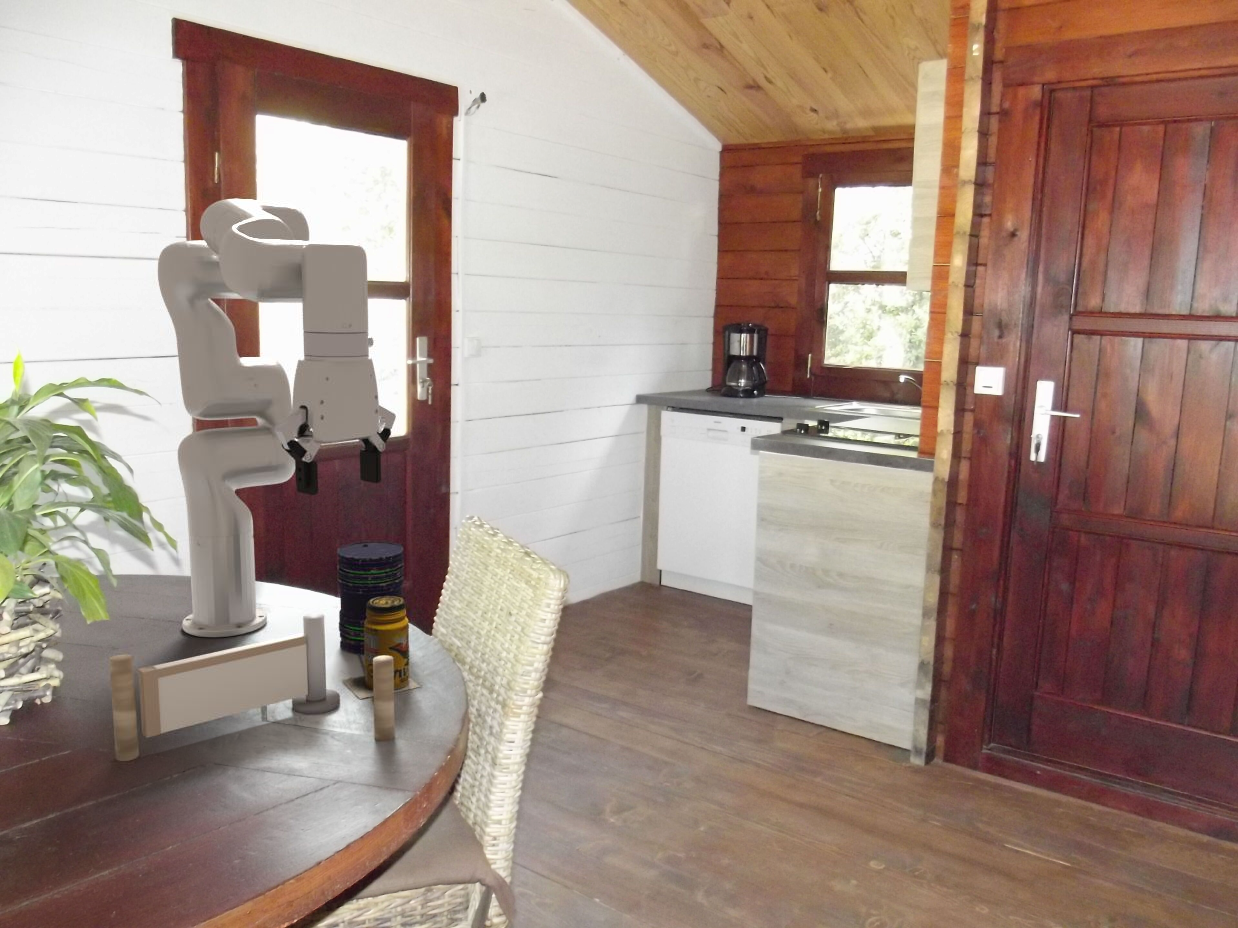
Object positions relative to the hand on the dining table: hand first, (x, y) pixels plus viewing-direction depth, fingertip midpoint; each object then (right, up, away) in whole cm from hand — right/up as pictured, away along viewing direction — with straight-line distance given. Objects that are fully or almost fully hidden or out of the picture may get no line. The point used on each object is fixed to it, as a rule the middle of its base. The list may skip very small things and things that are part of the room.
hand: (340, 487), depth 126 cm
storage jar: (-4, -25, +32) cm, 40 cm away
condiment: (+1, -28, +16) cm, 32 cm away
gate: (-13, -29, +2) cm, 31 cm away
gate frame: (-9, -31, -3) cm, 32 cm away
